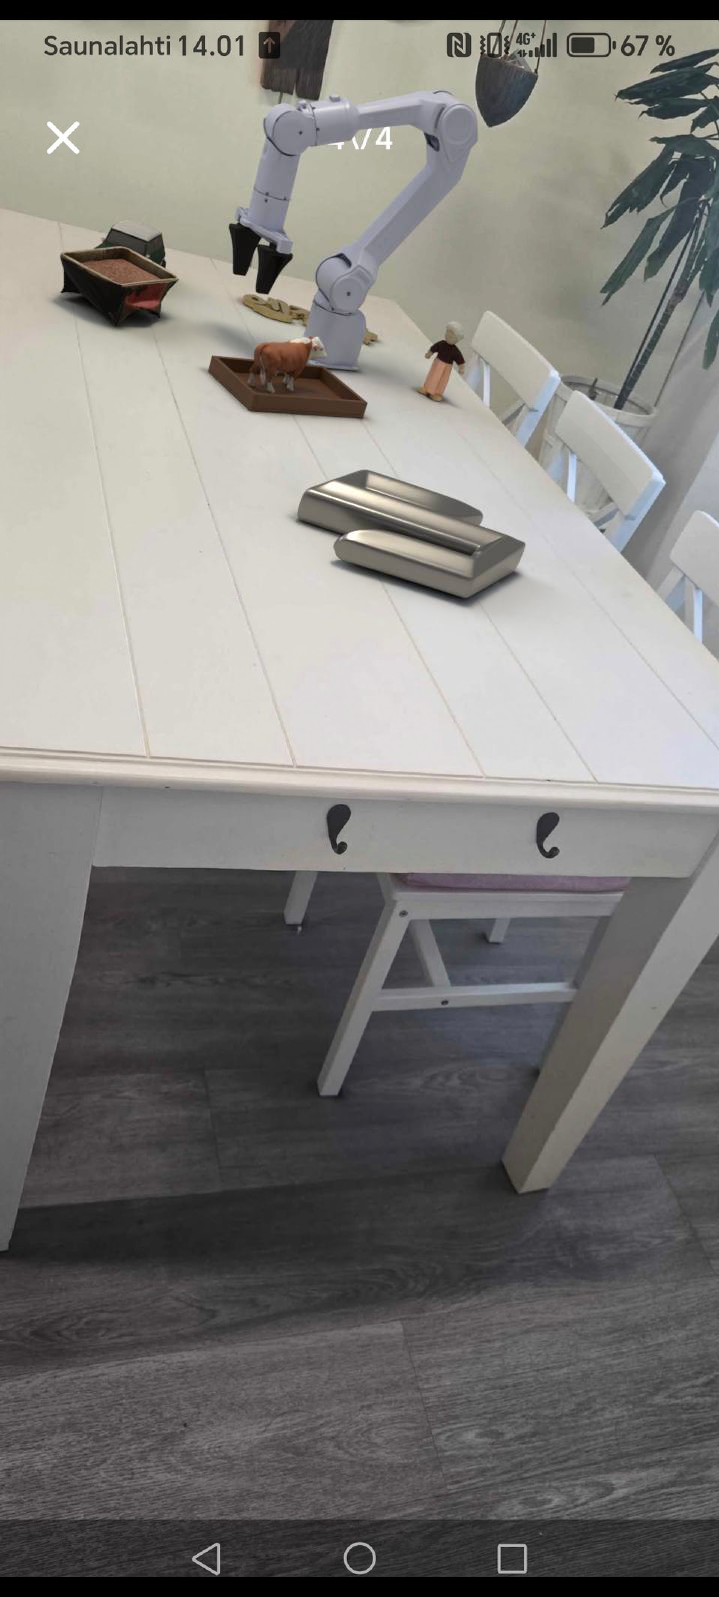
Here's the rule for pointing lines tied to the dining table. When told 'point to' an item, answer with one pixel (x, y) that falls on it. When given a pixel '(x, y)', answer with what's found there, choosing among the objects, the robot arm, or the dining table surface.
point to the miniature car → (137, 240)
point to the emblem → (410, 532)
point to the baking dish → (116, 280)
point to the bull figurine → (285, 359)
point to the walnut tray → (310, 396)
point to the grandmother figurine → (444, 361)
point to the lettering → (286, 311)
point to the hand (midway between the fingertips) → (250, 283)
